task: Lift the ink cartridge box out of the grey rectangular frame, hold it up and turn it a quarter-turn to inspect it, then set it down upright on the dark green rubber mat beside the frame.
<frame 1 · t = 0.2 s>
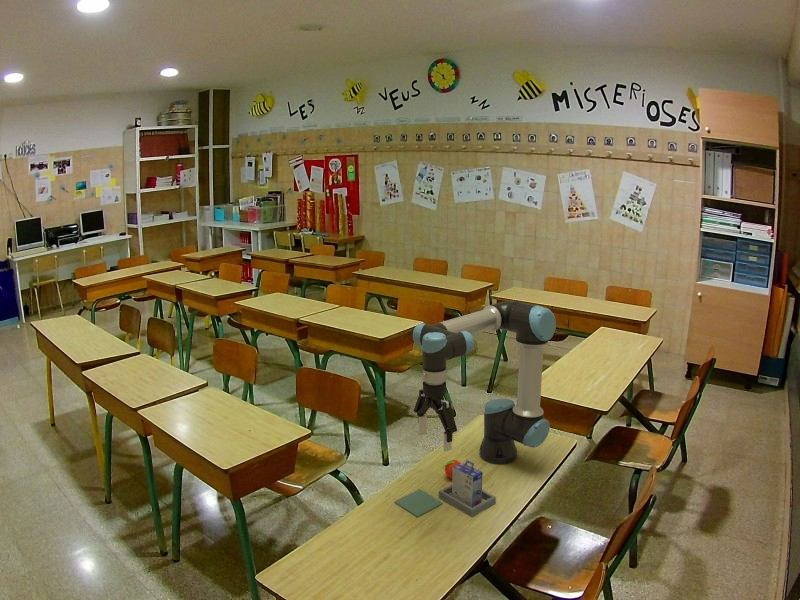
hand: (434, 442, 200), 27 cm above the table, fingers open, 13 cm apart
grey rectangular frame: (467, 500, 216), on the table
ink cartridge box: (467, 500, 216), resting in grey rectangular frame
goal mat: (418, 503, 214), on the table
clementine: (452, 478, 231), on the table
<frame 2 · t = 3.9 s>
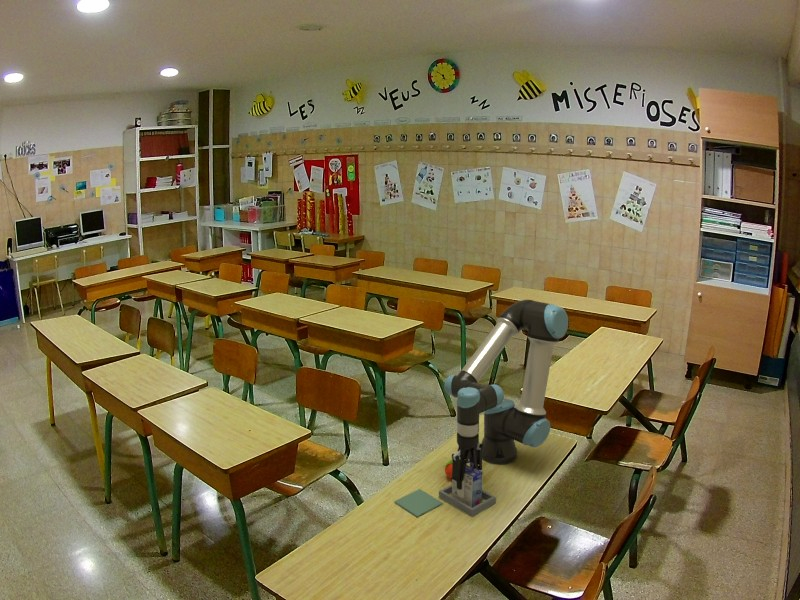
hand: (467, 493, 215), 3 cm above the table, fingers closed on ink cartridge box, 5 cm apart
ink cartridge box: (466, 500, 216), resting in grey rectangular frame, touching gripper
everything else where it was.
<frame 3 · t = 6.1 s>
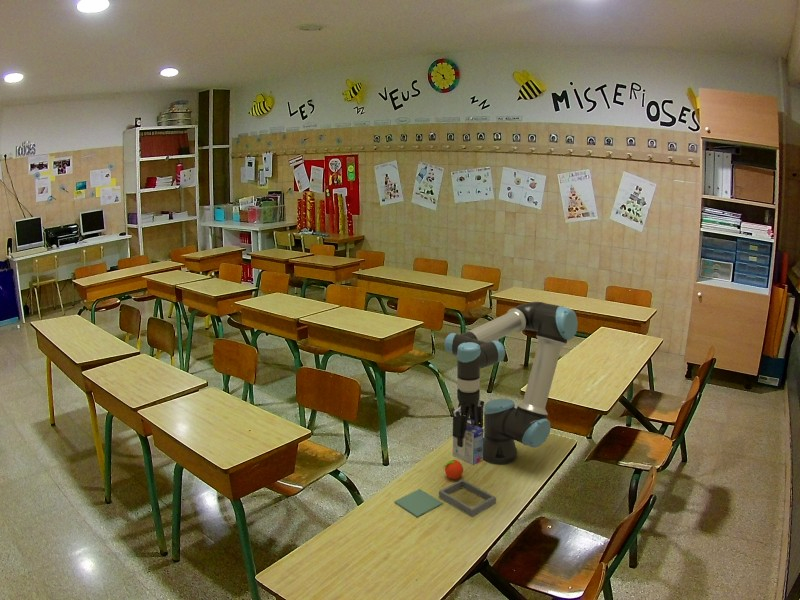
hand: (468, 451, 211), 19 cm above the table, fingers closed on ink cartridge box, 5 cm apart
ink cartridge box: (467, 459, 212), point 16 cm above the table, touching gripper
everything else where it was.
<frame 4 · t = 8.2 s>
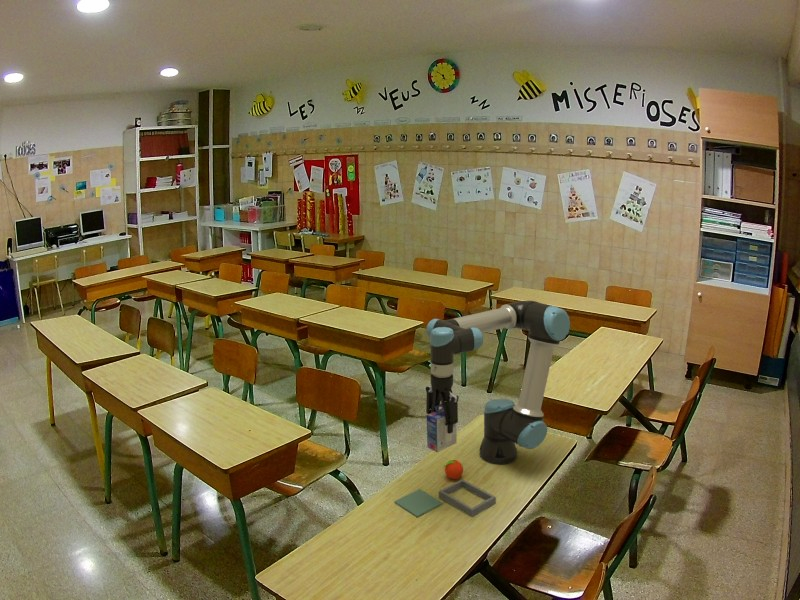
hand: (441, 437, 209), 25 cm above the table, fingers closed on ink cartridge box, 5 cm apart
ink cartridge box: (441, 445, 210), point 22 cm above the table, touching gripper
everything else where it was.
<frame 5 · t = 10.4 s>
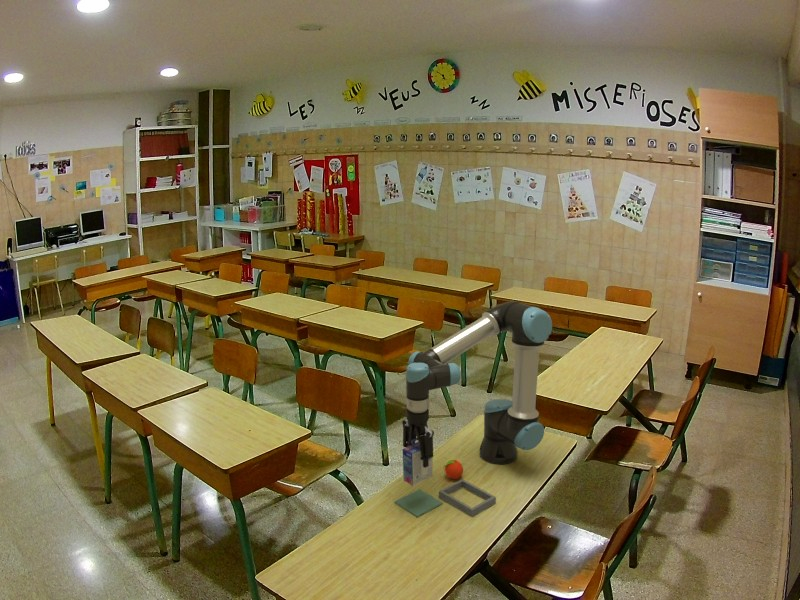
hand: (417, 471, 211), 13 cm above the table, fingers closed on ink cartridge box, 5 cm apart
ink cartridge box: (417, 478, 212), point 10 cm above the table, touching gripper
everything else where it was.
when the fingers open (5 cm above the table, at t = 12.5 s): ink cartridge box drops 1 cm, resting on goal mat.
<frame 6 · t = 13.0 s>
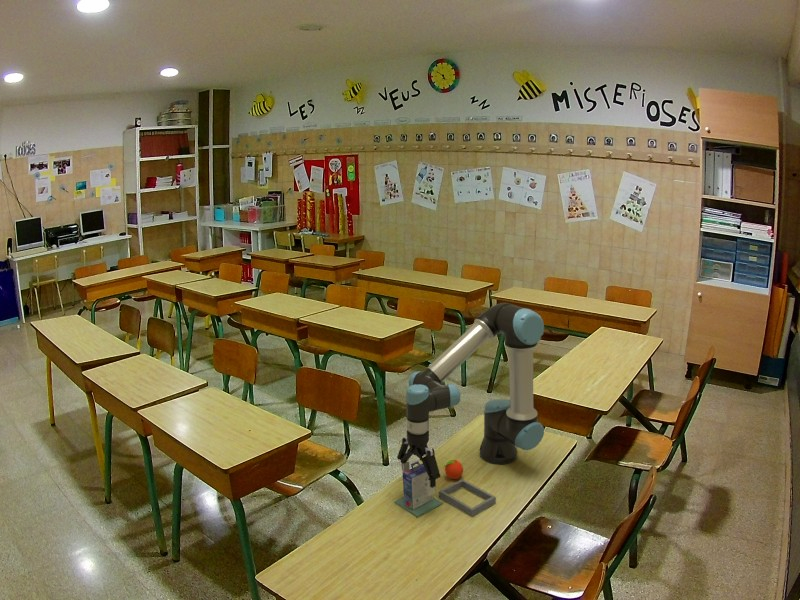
hand: (418, 487, 213), 6 cm above the table, fingers open, 12 cm apart
ink cartridge box: (418, 502, 214), resting on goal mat
everything else where it was.
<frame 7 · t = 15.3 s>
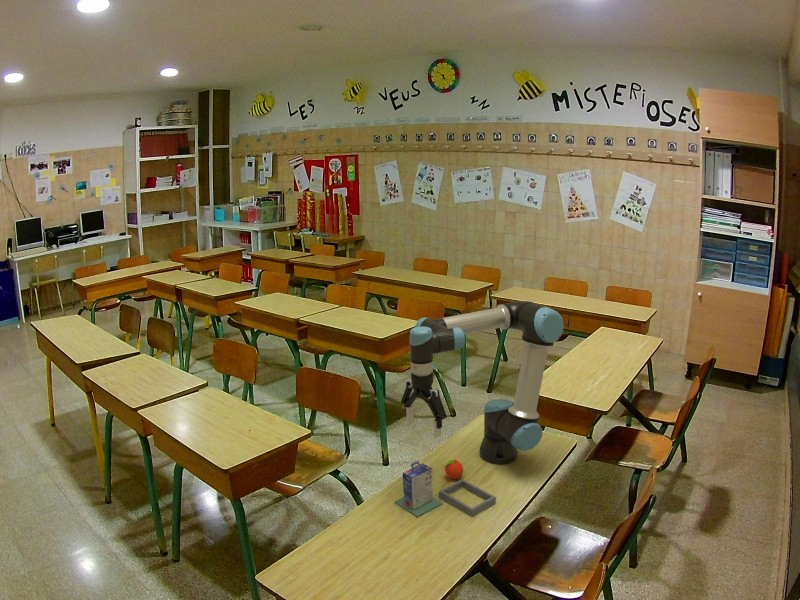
hand: (423, 429, 212), 26 cm above the table, fingers open, 13 cm apart
nothing on the table moved.
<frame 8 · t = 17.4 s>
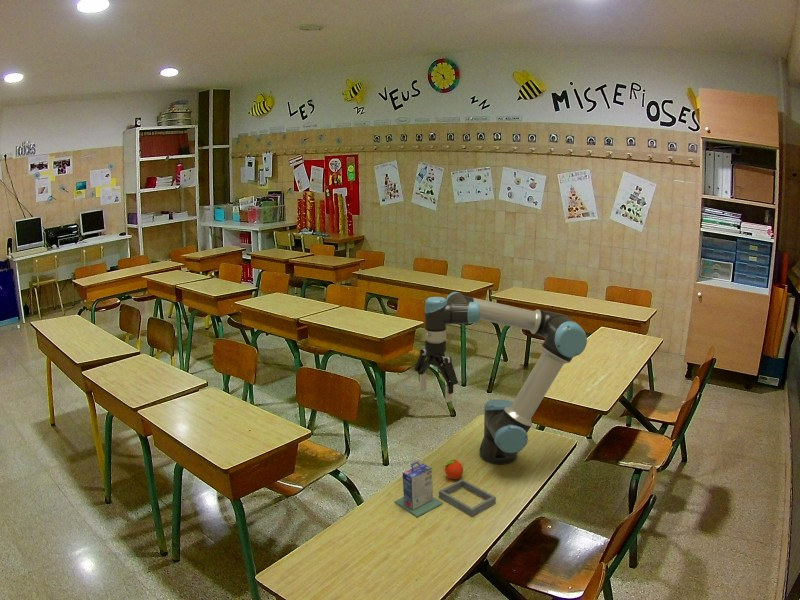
hand: (435, 395, 224), 33 cm above the table, fingers open, 13 cm apart
nothing on the table moved.
at the end: ink cartridge box inside the target area on the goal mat (0.2 cm from its centre), point 0.4 cm above the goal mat's base; ink cartridge box tilted 0°; the gripper is holding nothing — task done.
